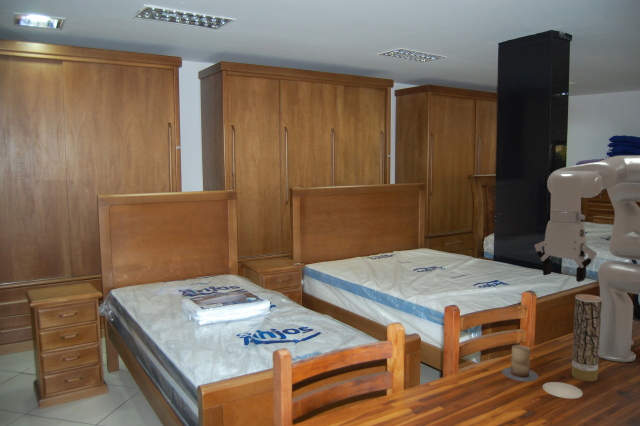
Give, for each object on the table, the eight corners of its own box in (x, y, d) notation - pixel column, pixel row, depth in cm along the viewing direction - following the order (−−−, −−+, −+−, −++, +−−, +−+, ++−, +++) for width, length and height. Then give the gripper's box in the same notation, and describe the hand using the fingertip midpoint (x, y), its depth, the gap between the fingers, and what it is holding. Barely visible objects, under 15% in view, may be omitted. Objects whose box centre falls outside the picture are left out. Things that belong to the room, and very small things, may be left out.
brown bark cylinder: (600, 385, 144) (605, 301, 141) (575, 383, 145) (579, 299, 143) (592, 376, 150) (597, 294, 148) (568, 374, 152) (572, 293, 149)
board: (516, 367, 157) (516, 363, 157) (591, 394, 138) (591, 390, 138) (493, 376, 150) (493, 373, 150) (568, 407, 131) (568, 402, 131)
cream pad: (554, 379, 146) (554, 379, 146) (589, 392, 137) (589, 391, 137) (535, 388, 140) (535, 388, 140) (570, 402, 132) (570, 401, 132)
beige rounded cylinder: (517, 369, 153) (518, 343, 152) (532, 374, 149) (533, 348, 148) (507, 373, 150) (508, 347, 149) (522, 379, 146) (523, 352, 145)
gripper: (604, 218, 134) (601, 281, 136) (543, 213, 148) (542, 270, 150) (589, 221, 129) (587, 286, 131) (528, 216, 144) (527, 274, 146)
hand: (563, 277), depth 141 cm, fingers open, 9 cm apart
